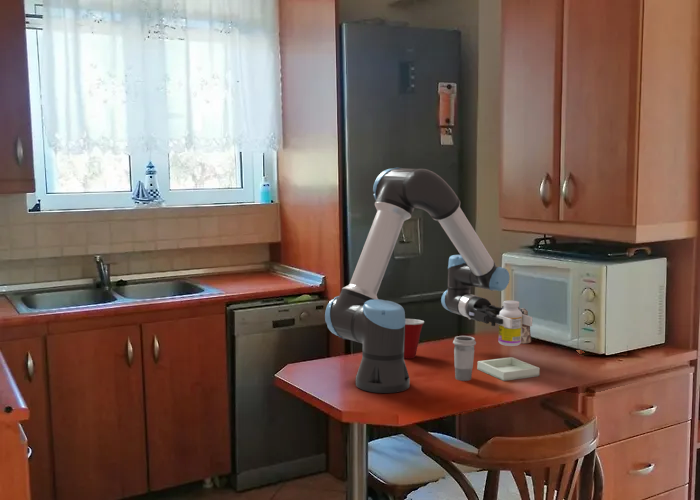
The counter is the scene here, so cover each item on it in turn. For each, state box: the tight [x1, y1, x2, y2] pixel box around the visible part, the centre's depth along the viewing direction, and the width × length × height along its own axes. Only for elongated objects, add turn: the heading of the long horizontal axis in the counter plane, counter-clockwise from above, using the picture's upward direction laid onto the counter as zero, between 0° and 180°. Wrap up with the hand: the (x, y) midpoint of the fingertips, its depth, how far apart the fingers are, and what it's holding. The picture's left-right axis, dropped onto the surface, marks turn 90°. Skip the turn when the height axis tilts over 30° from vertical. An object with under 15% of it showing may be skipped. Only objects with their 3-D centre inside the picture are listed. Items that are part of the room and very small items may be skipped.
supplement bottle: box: [498, 299, 522, 347], centre depth 224 cm, size 7×7×13 cm
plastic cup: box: [404, 318, 425, 359], centre depth 242 cm, size 11×11×12 cm
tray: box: [476, 356, 540, 382], centre depth 226 cm, size 13×13×2 cm
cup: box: [452, 335, 477, 382], centre depth 218 cm, size 7×7×12 cm
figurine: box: [518, 306, 532, 344], centre depth 265 cm, size 7×7×12 cm
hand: (521, 322), depth 219 cm, fingers closed on supplement bottle, 7 cm apart
